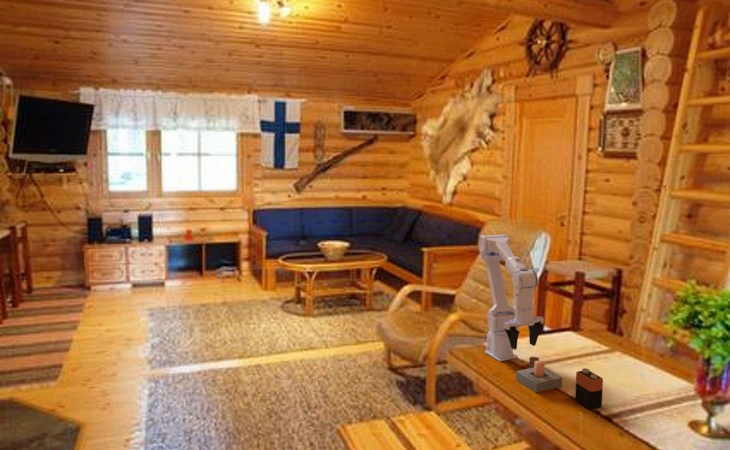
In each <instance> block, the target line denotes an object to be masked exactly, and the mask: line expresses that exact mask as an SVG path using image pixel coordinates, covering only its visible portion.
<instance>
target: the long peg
mask: <svg viewBox="0 0 730 450" xmlns="http://www.w3.org/2000/svg"><path fill="white" fill-rule="evenodd" d="M544 368H545V362H544V361H542V360H539V361H535V362H534V376H535V377H536V378H542V377H544Z"/></svg>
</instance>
